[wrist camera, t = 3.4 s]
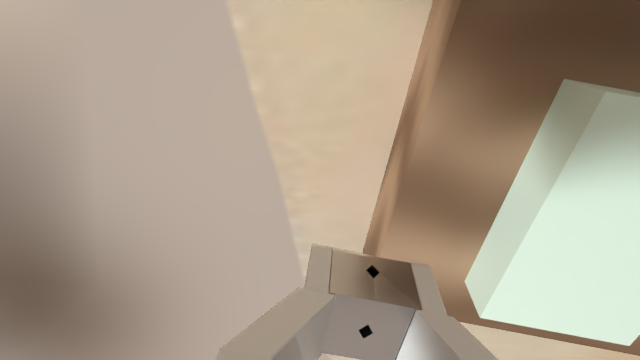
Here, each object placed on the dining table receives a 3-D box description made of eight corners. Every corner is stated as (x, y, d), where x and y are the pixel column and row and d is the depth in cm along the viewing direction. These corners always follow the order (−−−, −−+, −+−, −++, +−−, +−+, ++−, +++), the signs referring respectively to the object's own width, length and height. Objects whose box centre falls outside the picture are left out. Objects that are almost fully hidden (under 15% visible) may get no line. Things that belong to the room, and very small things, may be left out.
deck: (439, -20, 13) (471, -33, 10) (837, 51, 13) (1019, 65, 9) (362, 251, 20) (365, 303, 16) (629, 301, 19) (691, 365, 16)
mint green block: (563, 78, 11) (606, 91, 9) (746, 112, 11) (826, 131, 9) (464, 281, 15) (479, 317, 13) (596, 306, 15) (629, 346, 13)
